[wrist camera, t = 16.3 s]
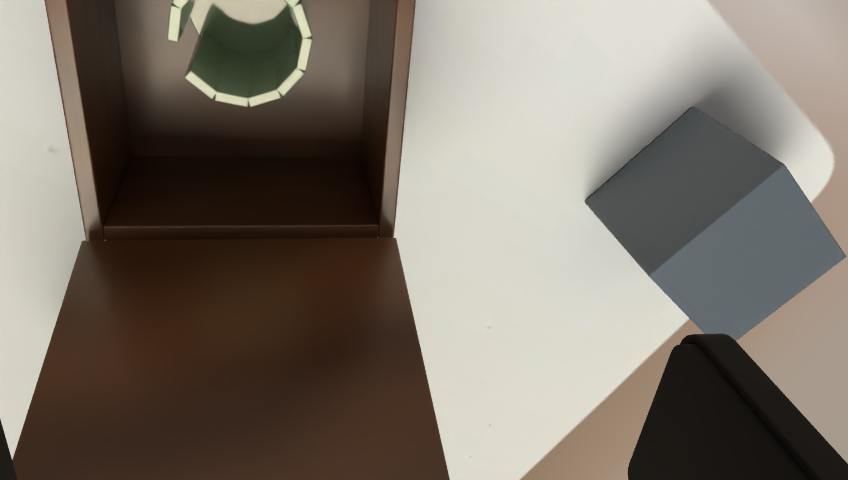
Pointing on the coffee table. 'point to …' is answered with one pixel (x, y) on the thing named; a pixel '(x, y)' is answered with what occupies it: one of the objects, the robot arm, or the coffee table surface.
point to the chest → (232, 127)
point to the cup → (244, 47)
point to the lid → (233, 366)
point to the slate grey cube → (716, 225)
